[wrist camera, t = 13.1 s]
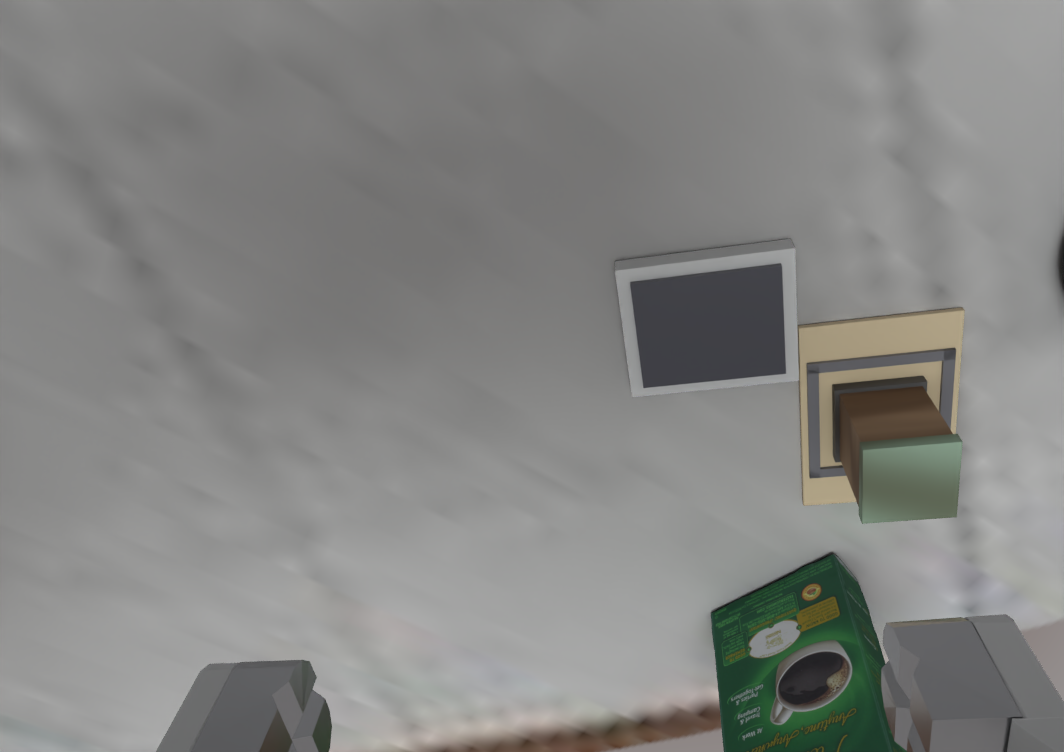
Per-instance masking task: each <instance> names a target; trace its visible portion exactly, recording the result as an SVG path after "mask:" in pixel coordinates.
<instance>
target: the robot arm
mask: <svg viewBox="0 0 1064 752" xmlns="http://www.w3.org/2000/svg"><path fill="white" fill-rule="evenodd" d="M883 646H884V649H885V651H886V654H887V657H888V659H889V661H888V662H887V663H886V664H885V665H884V666H883V667H882V668H881V688H882V696H883V703H884V709H885V713H886V717H887V720H888V724H889V727H890V730H891V733H892V735H893V738H894V741H895V742H896V743H897V744H899V745H900V746H901V747H902V748H904V749H905V750H906V751H907V752H1064V701H1063V700H1062V698H1061V696H1060V695H1059V693H1058V691H1057V690H1056V688H1055V687H1054V685H1053V683H1052V682H1051V680H1050V678H1049V677H1048V675H1047V674H1046V672H1045V670H1044V669H1043V667H1042V665H1041V664H1040V662H1039V661H1038V659H1037V657H1036V656H1035V654H1034V653H1033V651H1032V649H1031V648H1030V646H1029V644H1028V643H1027V641H1026V639H1025V638H1024V636H1023V635H1022V633H1021V631H1020V630H1019V628H1018V626H1017V625H1016V623H1015V622H1014V620H1013V619H1012V618H1010V617H1009V616H1008V615H1006V614H1003V615H989V616H975V617H965V618H962V617H960V618H946V619H932V620H918V621H904V622H891V623H886V625H885V627H884V630H883ZM316 678H317V677H316V675H315V673H314V670H313V668H312V666H311V664H310V662H309V661H305V660H285V661H257V662H240V663H218V664H209V665H208V666H206V667H205V668H204V669H203V670H201V671H200V673H199V675H198V676H197V678H196V680H195V682H194V684H193V685H192V687H191V689H190V691H189V693H188V695H187V696H186V698H185V700H184V702H183V704H182V705H181V707H180V709H179V711H178V713H177V714H176V716H175V718H174V720H173V722H172V724H171V725H170V727H169V729H168V731H167V733H166V734H165V736H164V738H163V740H162V742H161V744H160V745H159V747H158V749H157V751H156V752H329V748H330V740H331V729H332V724H331V717H330V711H329V708H328V705H327V703H326V700H325V698H323V697H322V696H321V695H319V694H318V693H316V692H315V691H314V690H312V688H313V686H314V683H315V680H316Z"/></svg>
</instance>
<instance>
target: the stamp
mask: <svg viewBox="0 0 1064 752" xmlns="http://www.w3.org/2000/svg"><path fill="white" fill-rule="evenodd" d="M832 424H833V457H834V460H835V462H841V463H842V466H843V468H844V471H845V473H846V476H847V478H848V481H849V483H850V486H851V488H852V491H853V493H854V496H855V498H856V501H857V503H858V506H859V517H860V519H861V522H862V524H864V523H879V522H893V521H908V520H922V519H937V518H951V517H957V506H958V494H959V481H960V468H961V455H962V440H961V439H960V437H959V436H958V434H953V433H952V431H951V430H950V428H949V427H948V425H947V423H946V422H945V420H944V419H943V417H942V416H941V414H940V413H939V411H938V409H937V408H936V406H935V405H934V403H933V402H932V400H931V398H930V397H929V395H928V394H927V380H926V379H925V377H924V376H912V377H902V378H892V379H882V380H872V381H861V382H851V383H841V384H832Z"/></svg>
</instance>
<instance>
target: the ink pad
mask: <svg viewBox="0 0 1064 752" xmlns="http://www.w3.org/2000/svg"><path fill="white" fill-rule="evenodd" d="M615 276H616V283H617V291H618V298H619V305H620V313H621V320H622V327H623V335H624V342H625V349H626V357H627V364H628V371H629V379H630V386H631V393H632V397H641V396H651V395H661V394H672V393H682V392H692V391H702V390H712V389H722V388H732V387H742V386H752V385H762V384H772V383H782V382H792V381H799V362H798V327H797V293H796V258H795V247H794V245H793V243H792V241H791V239H784V240H776V241H768V242H761V243H753V244H745V245H737V246H730V247H722V248H714V249H706V250H698V251H691V252H683V253H675V254H667V255H660V256H652V257H644V258H636V259H628V260H621V261H615Z"/></svg>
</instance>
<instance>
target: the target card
mask: <svg viewBox="0 0 1064 752" xmlns="http://www.w3.org/2000/svg"><path fill="white" fill-rule="evenodd" d="M964 311H965V310H964V309H963V308H953V309H944V310H935V311H926V312H917V313H908V314H899V315H890V316H881V317H872V318H863V319H853V320H844V321H835V322H826V323H817V324H808V325H799V326H798V356H799V390H800V425H801V460H802V495H803V505H804V506H807V505H820V504H834V503H847V502H857V501H856V498H855V496H854V493H853V491H852V488H851V486H850V483H849V481H848V478H847V476H846V473H845V471H844V468H843V466H842V463H841V462H835V460H834V457H833V424H832V384H841V383H851V382H861V381H872V380H882V379H892V378H902V377H912V376H924V377H925V379H926V380H927V394H928V395H929V397H930V398H931V400H932V402H933V403H934V405H935V406H936V408H937V409H938V411H939V413H940V414H941V416H942V417H943V419H944V420H945V422H946V423H947V425H948V427H949V428H950V430H951V431H952V433H953V434H956V420H957V406H958V393H959V379H960V365H961V352H962V338H963V324H964Z"/></svg>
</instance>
